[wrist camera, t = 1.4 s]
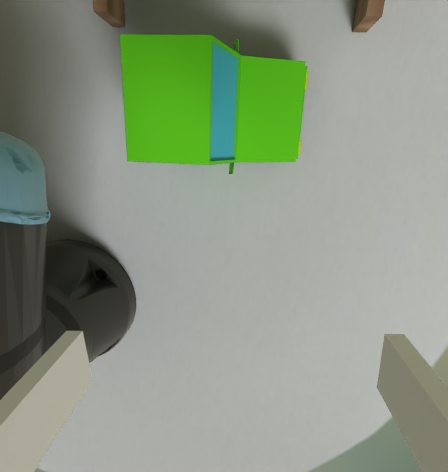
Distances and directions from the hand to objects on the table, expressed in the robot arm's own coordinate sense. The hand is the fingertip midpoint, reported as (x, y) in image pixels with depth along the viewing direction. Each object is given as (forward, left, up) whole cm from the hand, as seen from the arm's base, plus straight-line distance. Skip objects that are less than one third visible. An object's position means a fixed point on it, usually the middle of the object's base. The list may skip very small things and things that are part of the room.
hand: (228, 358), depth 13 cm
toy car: (-2, +11, -21) cm, 24 cm away
